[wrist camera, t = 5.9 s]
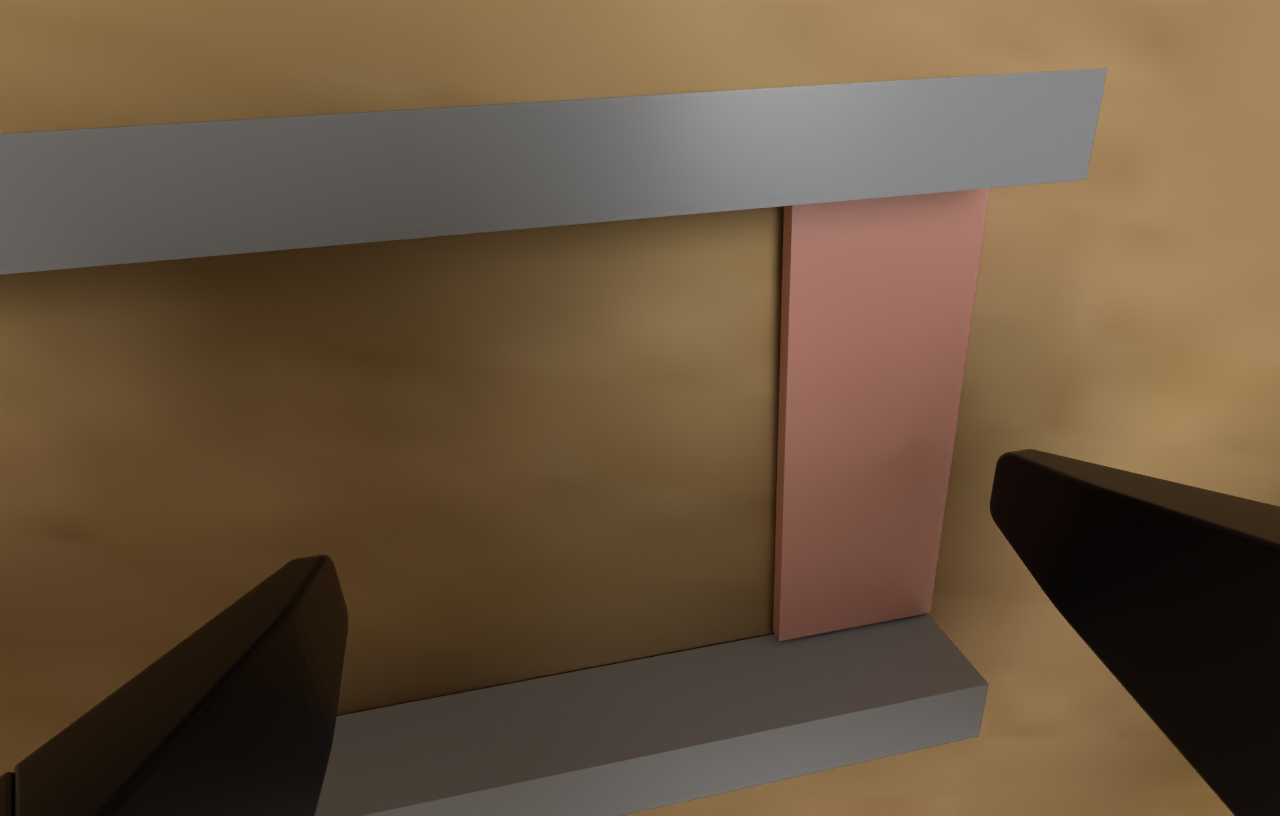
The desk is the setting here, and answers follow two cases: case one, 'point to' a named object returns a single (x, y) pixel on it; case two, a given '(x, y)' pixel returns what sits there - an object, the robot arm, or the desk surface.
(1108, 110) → the desk surface
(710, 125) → the u-shaped bracket
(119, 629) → the desk surface
